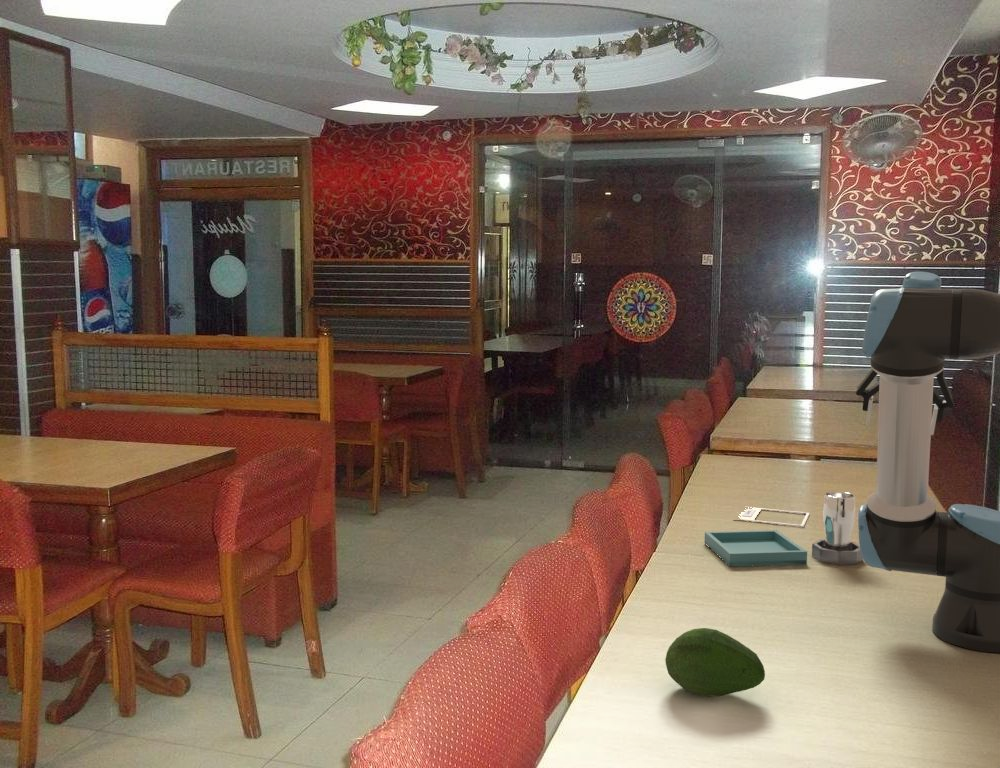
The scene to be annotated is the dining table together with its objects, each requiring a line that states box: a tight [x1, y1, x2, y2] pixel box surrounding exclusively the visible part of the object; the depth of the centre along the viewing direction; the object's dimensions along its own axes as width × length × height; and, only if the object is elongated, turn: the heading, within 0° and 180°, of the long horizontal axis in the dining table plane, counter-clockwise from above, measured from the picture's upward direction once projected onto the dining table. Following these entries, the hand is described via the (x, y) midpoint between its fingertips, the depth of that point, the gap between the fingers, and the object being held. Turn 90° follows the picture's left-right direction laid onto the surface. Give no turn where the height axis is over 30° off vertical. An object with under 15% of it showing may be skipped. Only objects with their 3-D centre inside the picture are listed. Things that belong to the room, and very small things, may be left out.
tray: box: [704, 529, 808, 567], centre depth 219 cm, size 18×18×3 cm
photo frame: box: [738, 506, 810, 529], centre depth 252 cm, size 15×1×18 cm
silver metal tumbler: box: [822, 491, 856, 551], centre depth 215 cm, size 7×7×15 cm
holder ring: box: [811, 538, 864, 566], centre depth 216 cm, size 10×10×3 cm
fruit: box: [664, 627, 766, 697], centre depth 145 cm, size 15×10×10 cm, turn 65°
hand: (899, 427), depth 213 cm, fingers open, 13 cm apart
